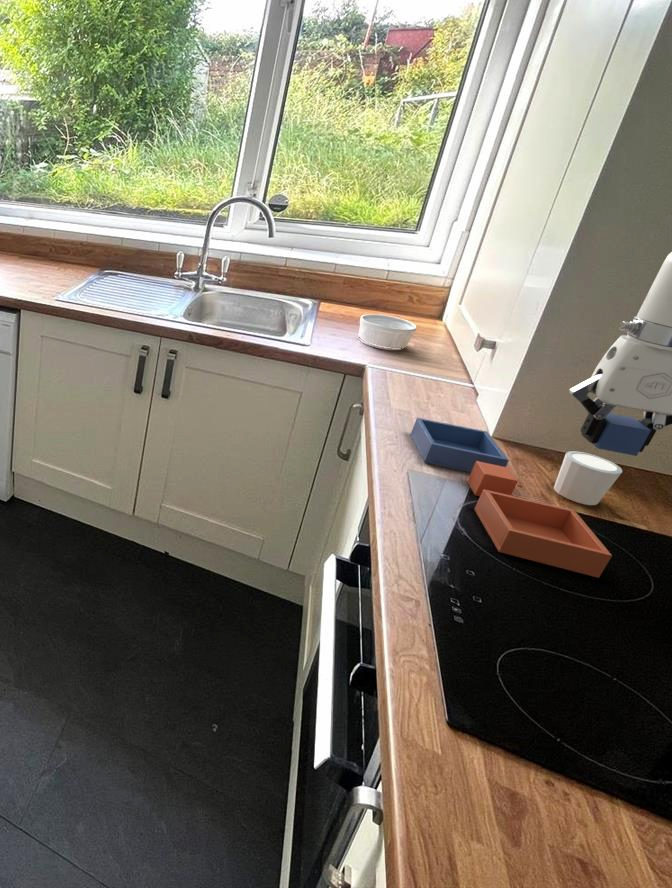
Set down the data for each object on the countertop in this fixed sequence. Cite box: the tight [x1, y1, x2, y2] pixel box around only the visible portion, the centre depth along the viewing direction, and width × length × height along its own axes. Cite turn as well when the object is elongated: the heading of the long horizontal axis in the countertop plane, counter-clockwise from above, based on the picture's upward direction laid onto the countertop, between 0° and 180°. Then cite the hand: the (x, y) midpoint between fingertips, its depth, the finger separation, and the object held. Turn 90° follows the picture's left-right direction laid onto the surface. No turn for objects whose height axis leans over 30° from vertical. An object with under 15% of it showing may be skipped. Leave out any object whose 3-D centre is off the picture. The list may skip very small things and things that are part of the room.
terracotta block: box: [466, 461, 519, 497], centre depth 101 cm, size 4×4×4 cm
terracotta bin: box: [473, 490, 613, 579], centre depth 89 cm, size 11×11×4 cm
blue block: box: [591, 412, 651, 457], centre depth 90 cm, size 4×4×4 cm
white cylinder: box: [553, 450, 624, 506], centre depth 101 cm, size 7×7×7 cm
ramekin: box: [358, 313, 417, 351], centre depth 167 cm, size 13×13×7 cm
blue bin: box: [409, 417, 510, 474], centre depth 112 cm, size 11×11×4 cm
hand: (610, 442), depth 91 cm, fingers closed on blue block, 4 cm apart
